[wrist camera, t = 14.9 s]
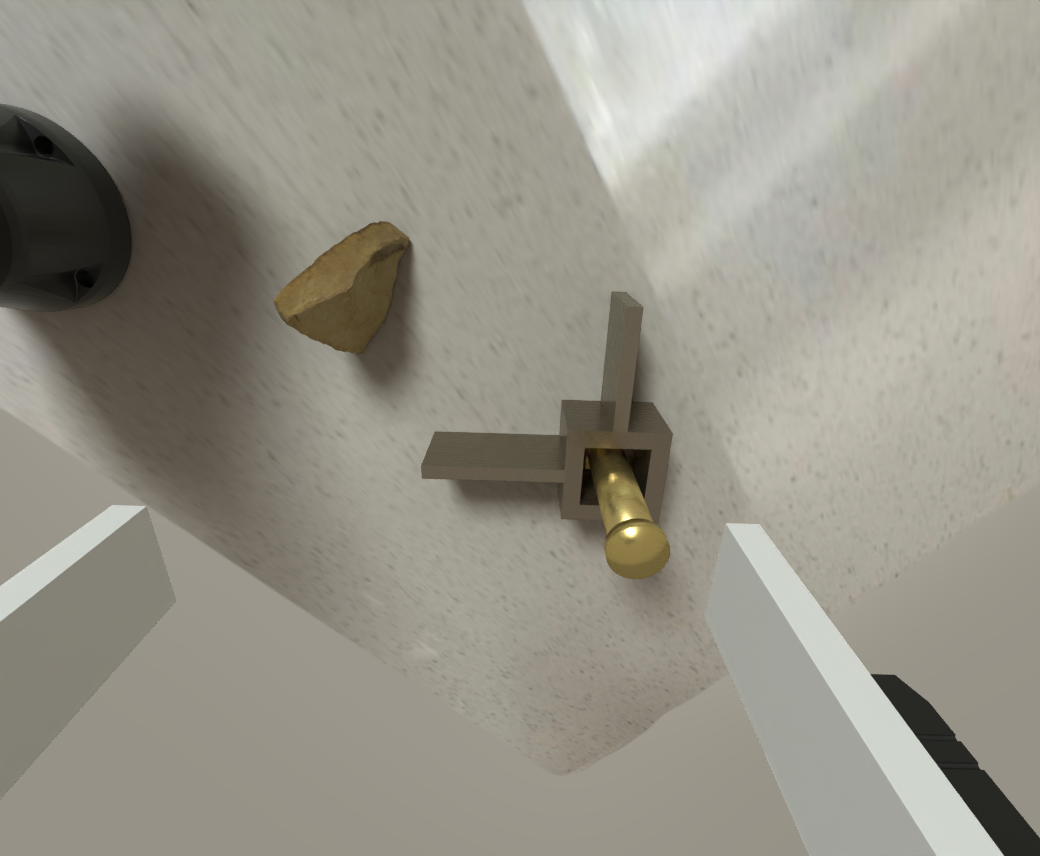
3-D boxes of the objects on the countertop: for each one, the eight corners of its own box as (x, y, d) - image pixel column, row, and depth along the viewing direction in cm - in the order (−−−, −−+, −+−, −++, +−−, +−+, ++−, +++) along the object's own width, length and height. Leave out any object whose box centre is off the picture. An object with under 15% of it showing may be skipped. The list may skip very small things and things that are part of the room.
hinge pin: (579, 466, 49) (603, 577, 34) (583, 426, 47) (609, 526, 32) (622, 467, 49) (665, 580, 34) (628, 428, 47) (674, 528, 32)
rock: (371, 177, 38) (259, 244, 38) (399, 241, 33) (272, 317, 34) (436, 277, 47) (344, 330, 48) (465, 338, 42) (364, 396, 43)
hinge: (436, 475, 50) (423, 514, 44) (428, 285, 43) (411, 299, 37) (641, 481, 51) (658, 521, 44) (668, 293, 43) (693, 308, 37)
